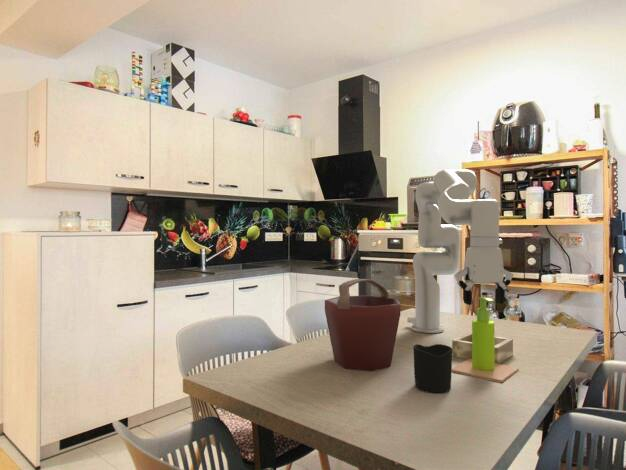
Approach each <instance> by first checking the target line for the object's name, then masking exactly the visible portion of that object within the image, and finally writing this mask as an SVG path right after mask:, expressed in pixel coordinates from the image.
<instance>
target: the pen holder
mask: <svg viewBox="0 0 626 470" xmlns="http://www.w3.org/2000/svg"><path fill="white" fill-rule="evenodd" d="M412 347H413V349H412V351H413V373H414V386H415V387H416V388H417V389H418V390H420V391H422V392H425V393H431V394H442V393H448V392H449V391H450V390H451V389H452V387H451V385H452V373H453V372H452V368H453V366H452V364H453V356H452V347H451V346H449V345H447V344H443V343H442V344H441V343H439V344H438V343H437V344H434V345H427V346H426V345H422V344H415V345H413V346H412Z"/></svg>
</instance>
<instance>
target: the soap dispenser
mask: <svg viewBox="0 0 626 470" xmlns="http://www.w3.org/2000/svg"><path fill="white" fill-rule="evenodd" d="M477 300H479V307H478V308H476V319H473V320H472V321H471V333H472V367H473V368H474V369H477V370H482V371H492V370H494V369H495V363H494V336H495V321H492V320H491V319H490V318H491V317H490V316H491V315H490V314H491V313H490V309H489V308H488V307H487V303H495V300H494V299H492V298H491V297H486V296H479V297H477Z"/></svg>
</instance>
